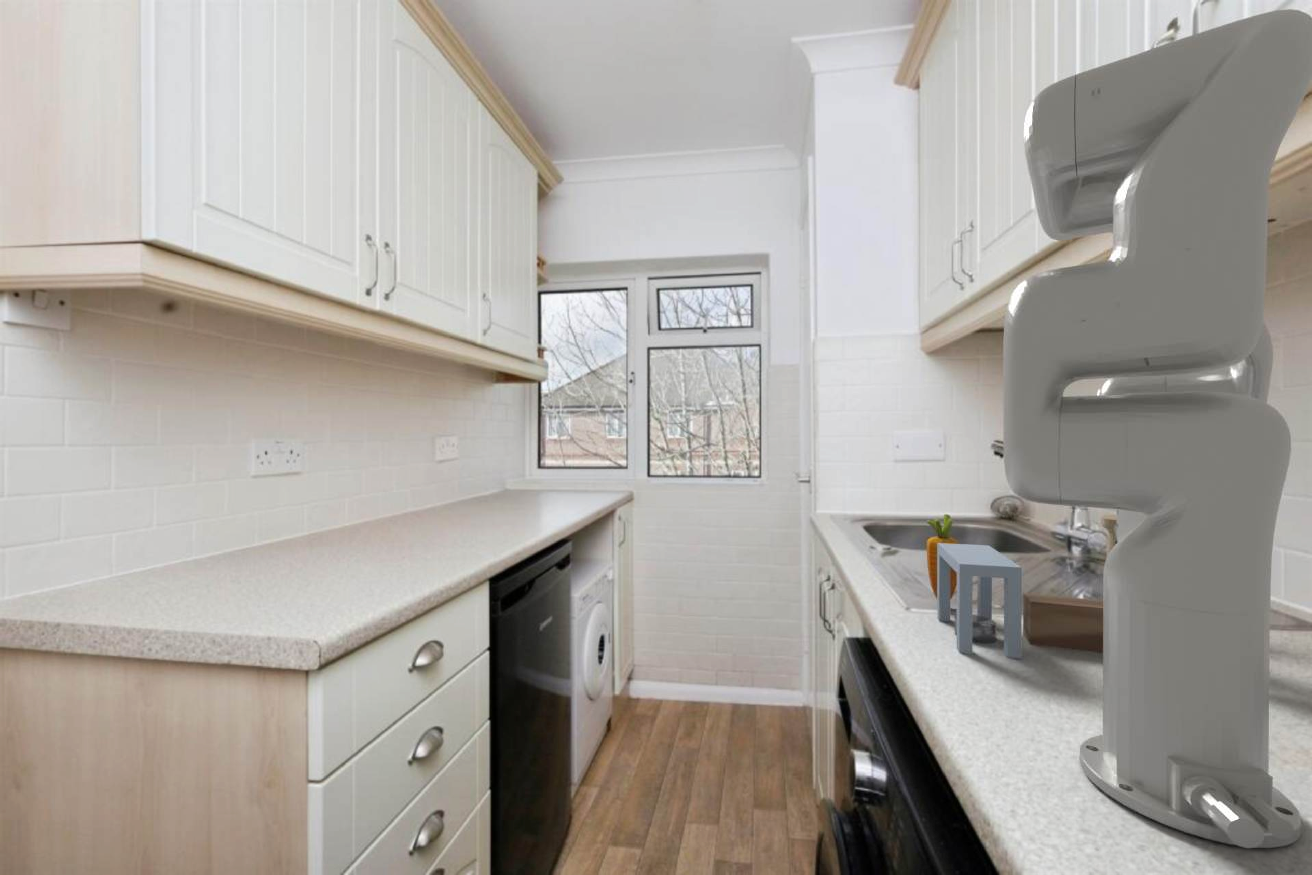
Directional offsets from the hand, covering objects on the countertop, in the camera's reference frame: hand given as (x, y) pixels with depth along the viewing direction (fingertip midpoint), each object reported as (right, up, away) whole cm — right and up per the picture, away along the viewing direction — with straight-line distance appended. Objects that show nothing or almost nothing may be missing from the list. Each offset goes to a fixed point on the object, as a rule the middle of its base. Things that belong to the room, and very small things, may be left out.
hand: (1152, 602), depth 72 cm
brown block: (-5, -7, +1) cm, 8 cm away
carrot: (-18, -6, +18) cm, 26 cm away
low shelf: (-20, -6, +5) cm, 22 cm away
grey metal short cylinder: (-20, -7, +5) cm, 22 cm away
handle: (+8, -6, +15) cm, 18 cm away
